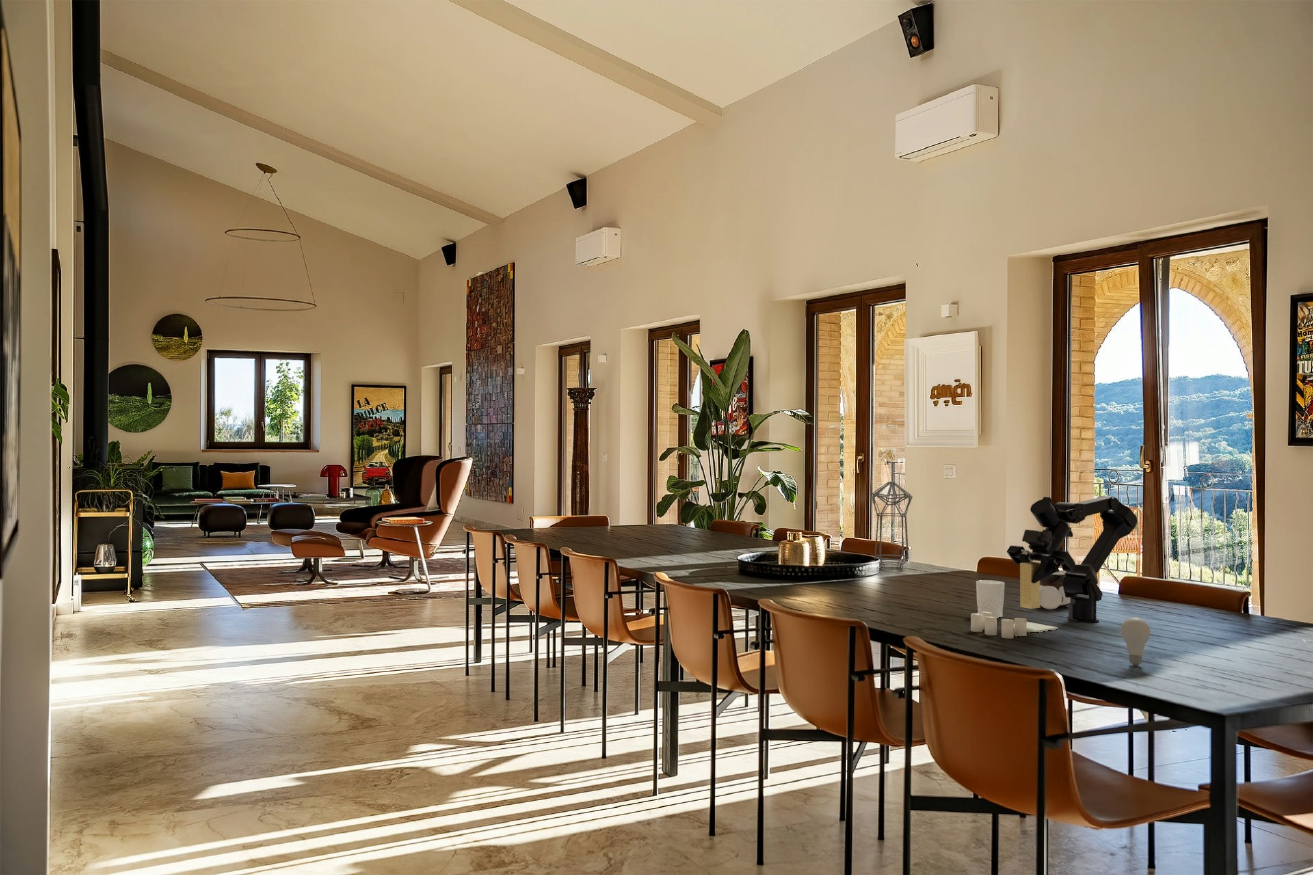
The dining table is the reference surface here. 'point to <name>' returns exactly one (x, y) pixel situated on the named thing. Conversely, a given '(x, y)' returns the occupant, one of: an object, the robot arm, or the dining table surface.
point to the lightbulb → (1135, 638)
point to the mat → (1039, 627)
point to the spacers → (990, 625)
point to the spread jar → (1053, 591)
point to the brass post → (1029, 586)
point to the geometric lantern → (907, 495)
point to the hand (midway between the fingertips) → (1026, 581)
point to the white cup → (990, 597)
